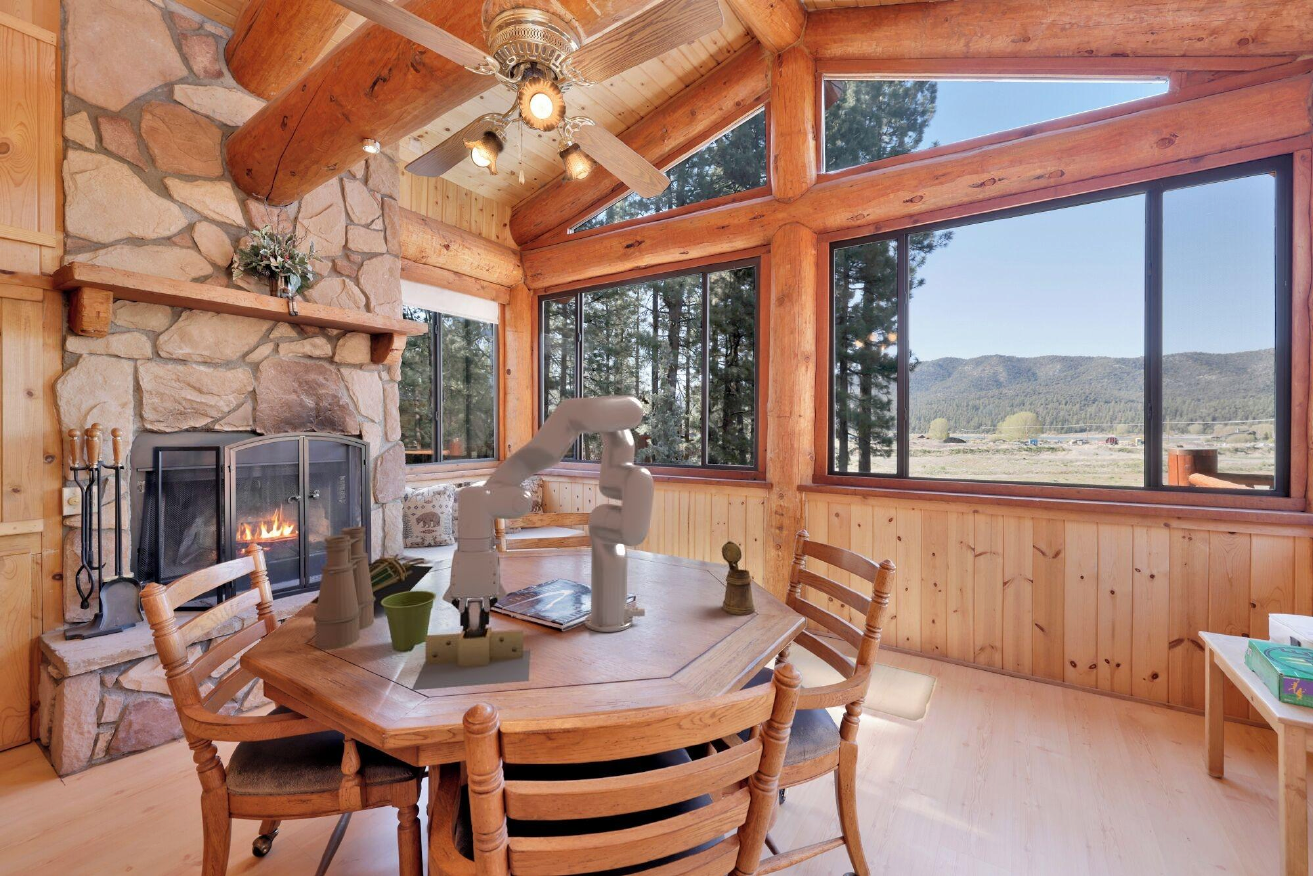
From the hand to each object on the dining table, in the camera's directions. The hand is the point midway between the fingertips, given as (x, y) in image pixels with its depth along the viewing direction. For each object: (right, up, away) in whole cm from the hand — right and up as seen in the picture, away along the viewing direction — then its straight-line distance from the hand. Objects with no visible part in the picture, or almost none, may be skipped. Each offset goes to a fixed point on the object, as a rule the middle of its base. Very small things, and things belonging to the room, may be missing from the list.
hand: (474, 627), depth 120 cm
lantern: (-42, -7, +44) cm, 62 cm away
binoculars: (-38, -8, +18) cm, 43 cm away
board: (+1, -9, -3) cm, 9 cm away
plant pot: (-19, -8, +11) cm, 23 cm away
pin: (0, -2, 0) cm, 2 cm away
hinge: (0, -7, 0) cm, 7 cm away
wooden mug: (+62, -8, +41) cm, 75 cm away
